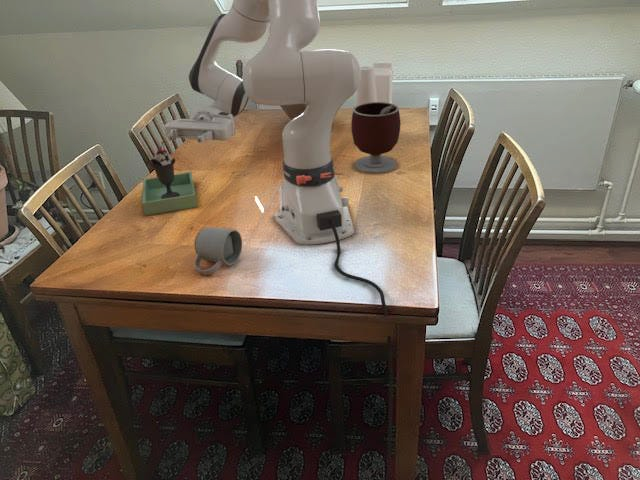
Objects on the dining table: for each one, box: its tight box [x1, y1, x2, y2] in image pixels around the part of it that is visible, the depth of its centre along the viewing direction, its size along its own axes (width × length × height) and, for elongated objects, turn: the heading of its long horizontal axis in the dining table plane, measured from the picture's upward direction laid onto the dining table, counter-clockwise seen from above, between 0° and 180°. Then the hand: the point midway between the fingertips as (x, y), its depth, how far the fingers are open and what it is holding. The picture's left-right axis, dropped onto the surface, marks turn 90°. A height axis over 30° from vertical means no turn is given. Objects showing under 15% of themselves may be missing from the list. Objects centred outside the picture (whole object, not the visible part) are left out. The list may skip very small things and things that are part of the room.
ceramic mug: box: [194, 226, 243, 276], centre depth 113 cm, size 11×8×8 cm
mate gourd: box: [351, 102, 401, 175], centre depth 151 cm, size 16×14×20 cm
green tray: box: [141, 171, 198, 216], centre depth 144 cm, size 16×13×4 cm
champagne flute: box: [355, 65, 377, 106], centre depth 167 cm, size 7×7×24 cm
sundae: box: [149, 141, 179, 199], centre depth 141 cm, size 7×7×15 cm
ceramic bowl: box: [280, 104, 307, 121], centre depth 195 cm, size 22×23×10 cm
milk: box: [373, 62, 393, 104], centre depth 180 cm, size 6×6×22 cm
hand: (184, 138), depth 148 cm, fingers open, 8 cm apart
